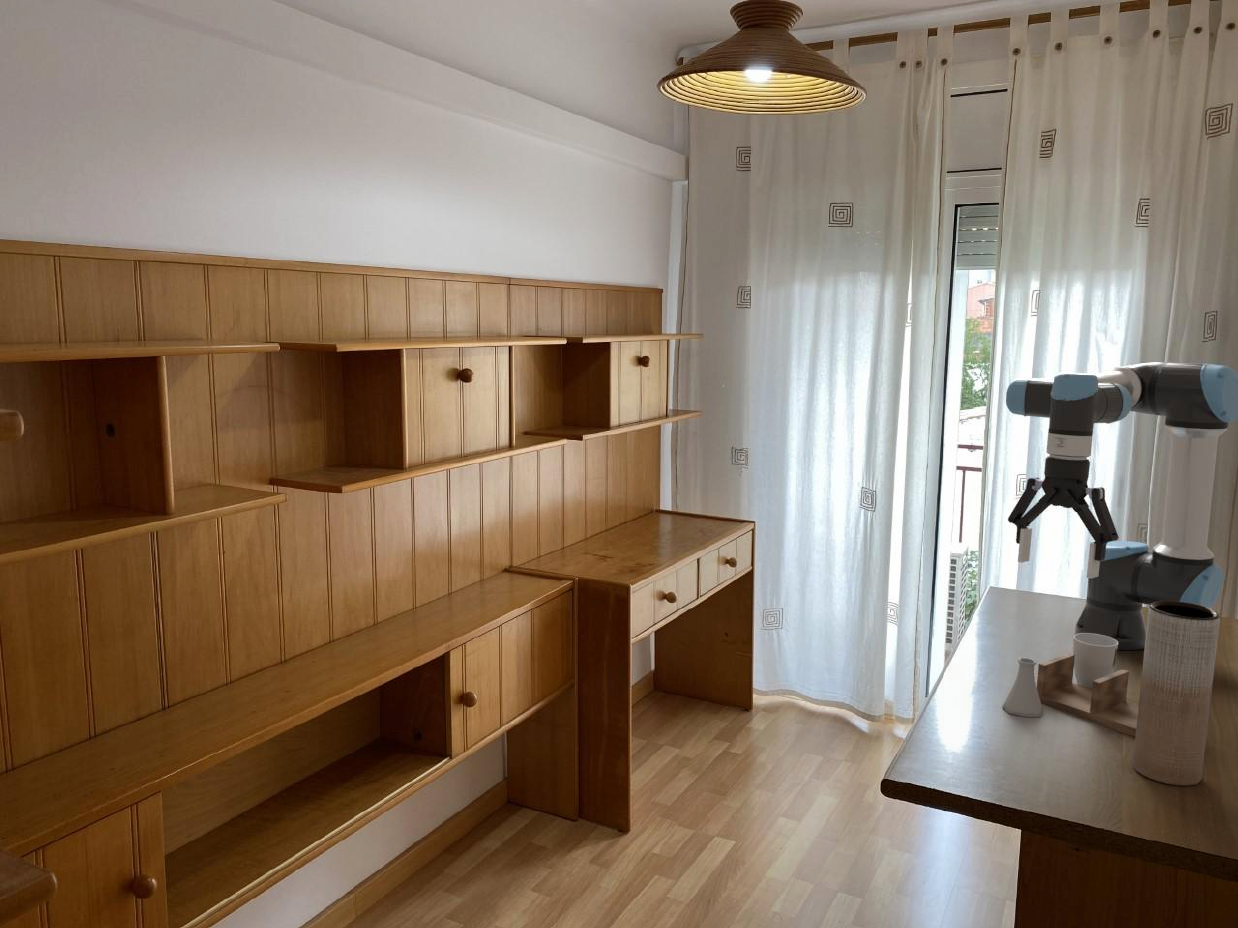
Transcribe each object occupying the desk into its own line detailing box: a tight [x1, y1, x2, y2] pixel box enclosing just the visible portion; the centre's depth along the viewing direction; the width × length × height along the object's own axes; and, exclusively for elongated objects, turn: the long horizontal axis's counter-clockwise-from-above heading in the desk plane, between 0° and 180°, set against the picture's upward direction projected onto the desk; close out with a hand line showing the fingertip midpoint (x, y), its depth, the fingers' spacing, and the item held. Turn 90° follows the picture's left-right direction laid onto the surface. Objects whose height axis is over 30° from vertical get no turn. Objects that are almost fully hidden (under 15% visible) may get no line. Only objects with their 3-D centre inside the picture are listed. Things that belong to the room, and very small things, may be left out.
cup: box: [1072, 633, 1118, 689], centre depth 197 cm, size 8×8×10 cm
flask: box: [1002, 657, 1044, 718], centre depth 184 cm, size 7×7×10 cm
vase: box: [1132, 601, 1221, 787], centre depth 158 cm, size 10×10×28 cm
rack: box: [1036, 653, 1139, 738], centre depth 184 cm, size 12×23×8 cm, turn 36°
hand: (1056, 569), depth 183 cm, fingers open, 13 cm apart
